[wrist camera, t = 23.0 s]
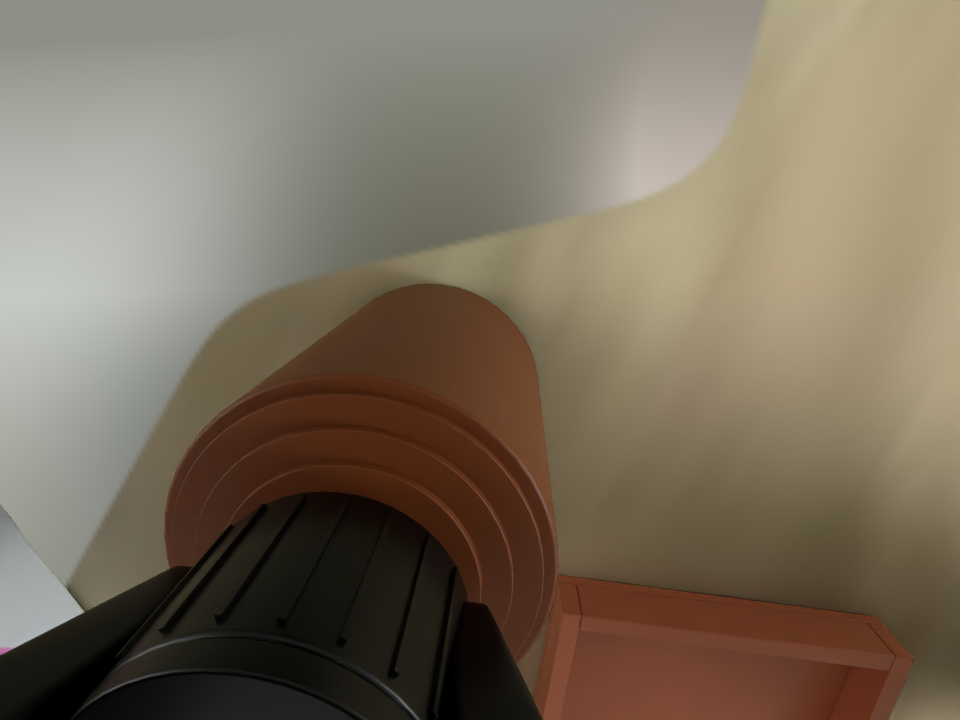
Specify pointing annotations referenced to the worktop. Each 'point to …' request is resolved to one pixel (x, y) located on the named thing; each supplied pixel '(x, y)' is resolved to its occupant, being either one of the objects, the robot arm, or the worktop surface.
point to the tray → (711, 658)
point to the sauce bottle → (397, 445)
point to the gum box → (28, 591)
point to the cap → (298, 623)
